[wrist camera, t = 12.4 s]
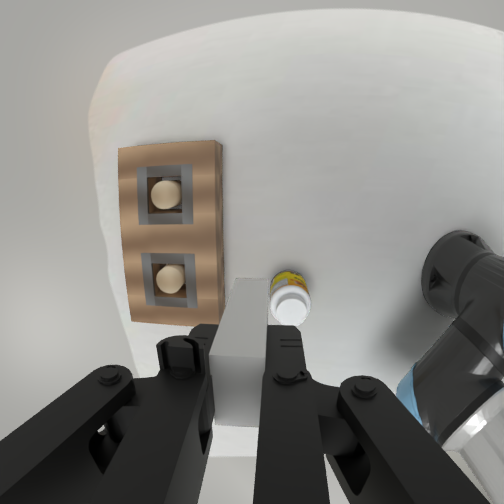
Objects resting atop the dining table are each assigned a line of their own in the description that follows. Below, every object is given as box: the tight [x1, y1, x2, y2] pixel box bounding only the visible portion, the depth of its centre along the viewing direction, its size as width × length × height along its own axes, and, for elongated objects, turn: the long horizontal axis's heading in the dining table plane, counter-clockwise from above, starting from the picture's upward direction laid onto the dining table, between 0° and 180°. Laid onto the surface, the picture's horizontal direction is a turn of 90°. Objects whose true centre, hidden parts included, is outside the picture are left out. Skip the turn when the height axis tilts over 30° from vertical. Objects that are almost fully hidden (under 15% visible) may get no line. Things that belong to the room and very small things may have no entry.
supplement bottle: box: [270, 270, 311, 326], centre depth 43 cm, size 6×6×10 cm
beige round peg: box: [151, 180, 182, 209], centre depth 43 cm, size 4×4×6 cm
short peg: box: [156, 264, 186, 293], centre depth 46 cm, size 4×4×6 cm
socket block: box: [118, 140, 225, 327], centre depth 44 cm, size 26×14×6 cm, turn 0°
